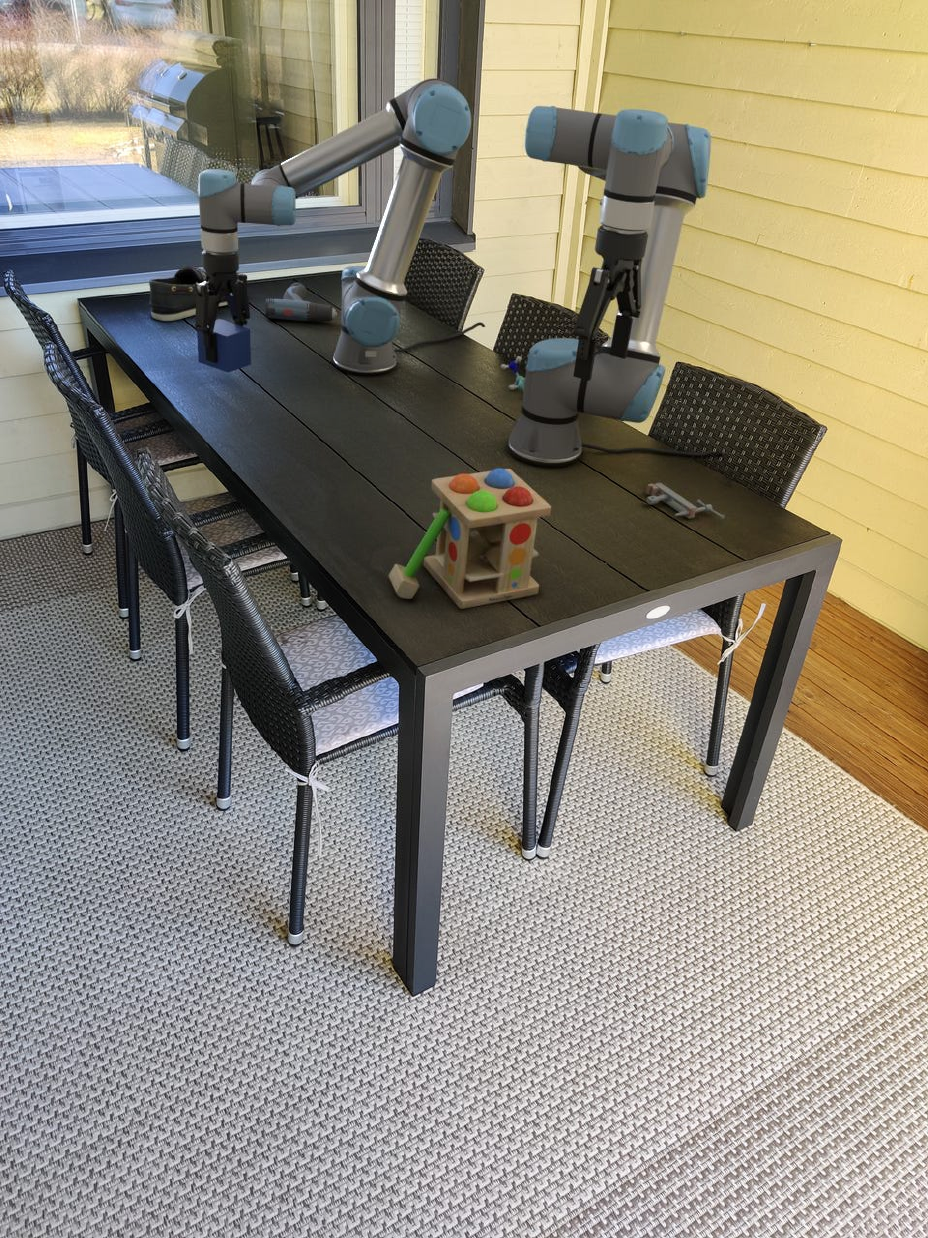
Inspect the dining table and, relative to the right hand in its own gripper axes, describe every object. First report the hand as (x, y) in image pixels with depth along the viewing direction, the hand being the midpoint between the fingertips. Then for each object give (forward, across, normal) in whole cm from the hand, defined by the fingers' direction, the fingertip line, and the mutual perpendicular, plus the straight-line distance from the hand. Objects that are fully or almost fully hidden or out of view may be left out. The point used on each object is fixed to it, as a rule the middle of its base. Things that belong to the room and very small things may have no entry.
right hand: (600, 367), depth 157 cm
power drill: (+32, -65, -114) cm, 135 cm away
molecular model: (+32, -56, -41) cm, 77 cm away
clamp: (+32, -24, +11) cm, 41 cm away
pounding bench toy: (+32, +26, -8) cm, 42 cm away
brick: (+28, -14, -95) cm, 99 cm away
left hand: (+26, -14, -95) cm, 99 cm away
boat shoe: (+32, -49, -138) cm, 150 cm away
